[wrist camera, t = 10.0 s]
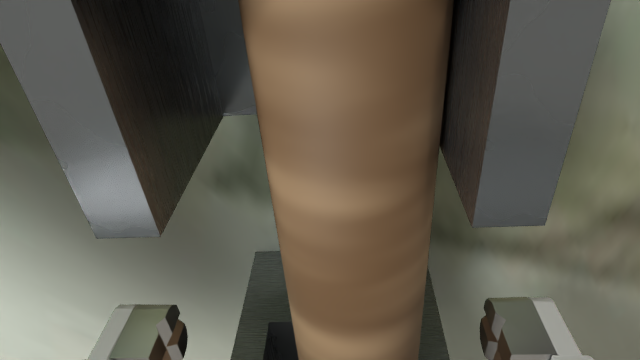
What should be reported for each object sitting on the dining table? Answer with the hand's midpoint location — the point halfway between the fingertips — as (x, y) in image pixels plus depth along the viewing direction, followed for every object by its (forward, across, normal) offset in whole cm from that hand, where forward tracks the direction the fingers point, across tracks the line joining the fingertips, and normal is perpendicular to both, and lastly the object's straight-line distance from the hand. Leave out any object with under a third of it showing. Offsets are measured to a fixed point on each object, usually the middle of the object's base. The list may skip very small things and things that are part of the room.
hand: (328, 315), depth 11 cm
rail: (+3, -2, 0) cm, 4 cm away
